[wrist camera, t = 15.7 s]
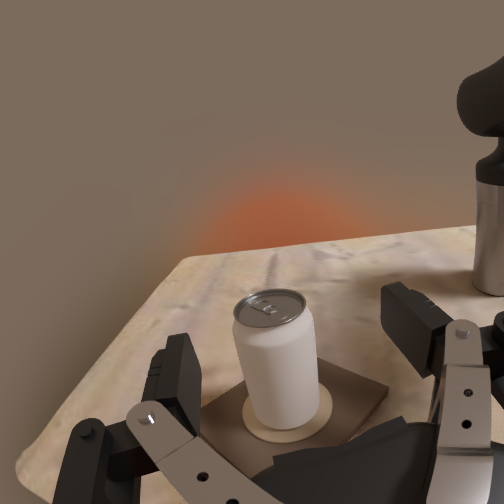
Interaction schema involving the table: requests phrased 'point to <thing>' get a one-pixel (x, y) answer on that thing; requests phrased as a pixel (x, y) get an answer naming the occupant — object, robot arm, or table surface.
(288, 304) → the can
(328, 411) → the rest board
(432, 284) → the table surface
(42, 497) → the table surface
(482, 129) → the robot arm
